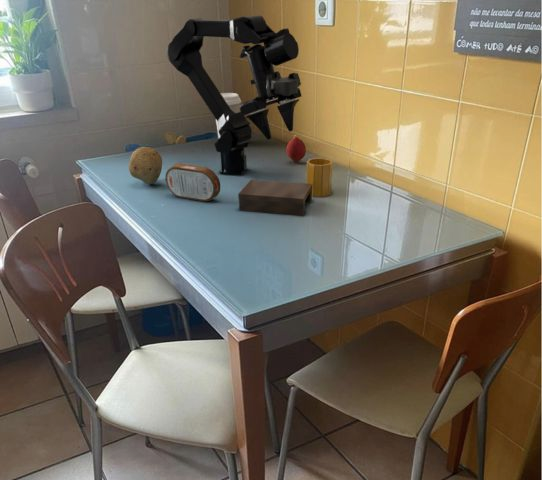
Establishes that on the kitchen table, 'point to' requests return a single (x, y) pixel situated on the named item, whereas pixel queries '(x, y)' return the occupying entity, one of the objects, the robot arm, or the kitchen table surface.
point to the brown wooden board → (275, 197)
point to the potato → (145, 165)
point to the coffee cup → (231, 103)
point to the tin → (193, 182)
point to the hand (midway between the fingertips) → (280, 135)
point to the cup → (319, 176)
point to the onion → (296, 149)
